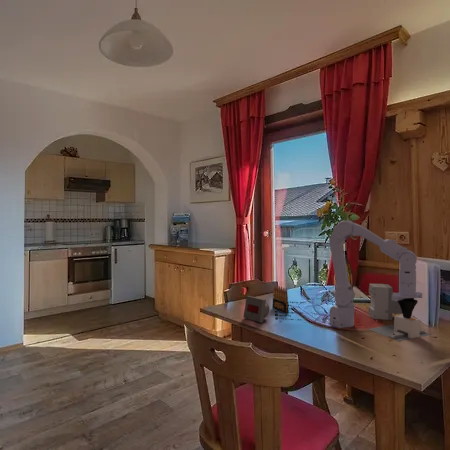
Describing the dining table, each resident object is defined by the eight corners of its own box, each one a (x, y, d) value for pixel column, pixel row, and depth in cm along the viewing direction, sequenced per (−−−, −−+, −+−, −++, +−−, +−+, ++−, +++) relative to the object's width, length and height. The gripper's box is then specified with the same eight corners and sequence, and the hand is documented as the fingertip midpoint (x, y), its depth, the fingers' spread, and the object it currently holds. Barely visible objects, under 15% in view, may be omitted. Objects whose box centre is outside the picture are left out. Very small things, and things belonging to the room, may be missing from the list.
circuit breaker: (407, 322, 143) (407, 288, 143) (372, 320, 146) (372, 286, 146) (401, 317, 150) (402, 284, 150) (368, 315, 153) (368, 283, 153)
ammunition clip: (272, 308, 165) (272, 284, 165) (275, 307, 166) (275, 284, 166) (285, 313, 156) (285, 288, 155) (288, 313, 156) (289, 288, 156)
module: (411, 338, 122) (411, 320, 122) (394, 332, 129) (394, 314, 129) (419, 336, 124) (419, 318, 124) (401, 330, 131) (402, 313, 130)
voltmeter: (241, 322, 142) (241, 299, 142) (244, 315, 153) (245, 293, 153) (305, 326, 137) (305, 303, 137) (303, 318, 149) (303, 296, 148)
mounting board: (398, 343, 119) (398, 341, 119) (367, 331, 132) (367, 329, 132) (431, 336, 126) (431, 334, 126) (399, 325, 139) (399, 323, 139)
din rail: (393, 338, 122) (393, 335, 122) (387, 336, 124) (387, 333, 124) (424, 332, 129) (424, 329, 128) (418, 330, 131) (418, 327, 131)
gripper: (403, 286, 119) (403, 323, 120) (430, 283, 125) (429, 318, 125) (386, 282, 126) (386, 318, 126) (413, 279, 132) (412, 313, 132)
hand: (406, 318), depth 126 cm, fingers closed, pressing on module
